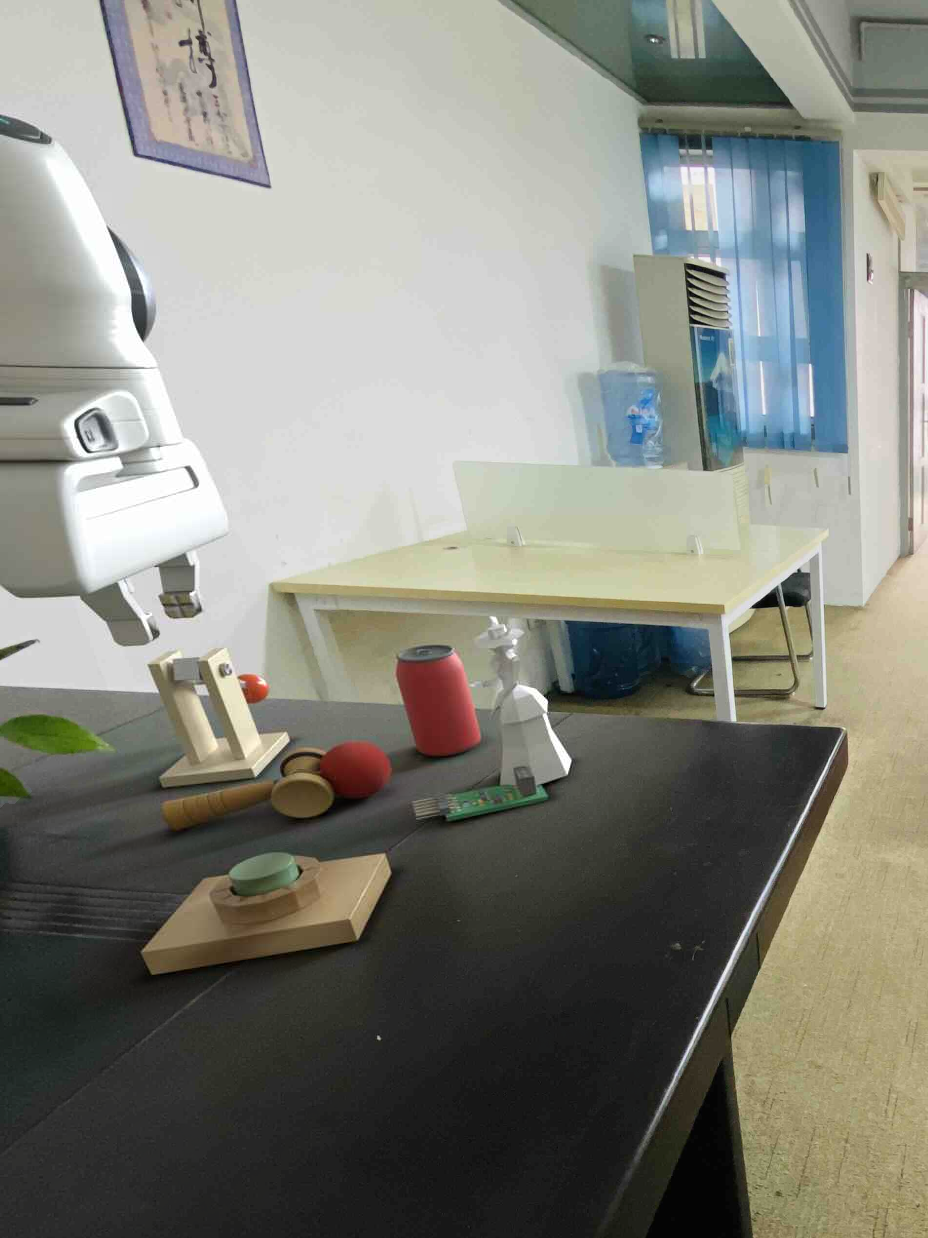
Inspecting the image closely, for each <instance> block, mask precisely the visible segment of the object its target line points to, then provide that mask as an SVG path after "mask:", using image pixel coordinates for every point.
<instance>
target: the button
mask: <svg viewBox="0 0 928 1238" xmlns="http://www.w3.org/2000/svg"><path fill="white" fill-rule="evenodd" d="M293 856H294V855H293V854H290V853H288V852H268V853H264V854H263V853H262V854H259V855H256V856H252V857H250V858H248V859H245V860H243V861H241V862H239V863H238V864H236V865H235V866H233V867H232V868H231V869H230V870H229V872H228V875H229V877H230V880H231V882H232V884H233V887H234V889H235V892H236V894H237V895H238V896H243V897H250V896H256V895H263V894H267V893H270V892H273V891H275V890H278V889H281V888H284V887H286V886H288V885H289V884H291V883H293V882H294V881H296V880H298V879H299V876H300V874H299V871H298V868H297V866H296V863H295V861H294V858H293Z"/></svg>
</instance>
